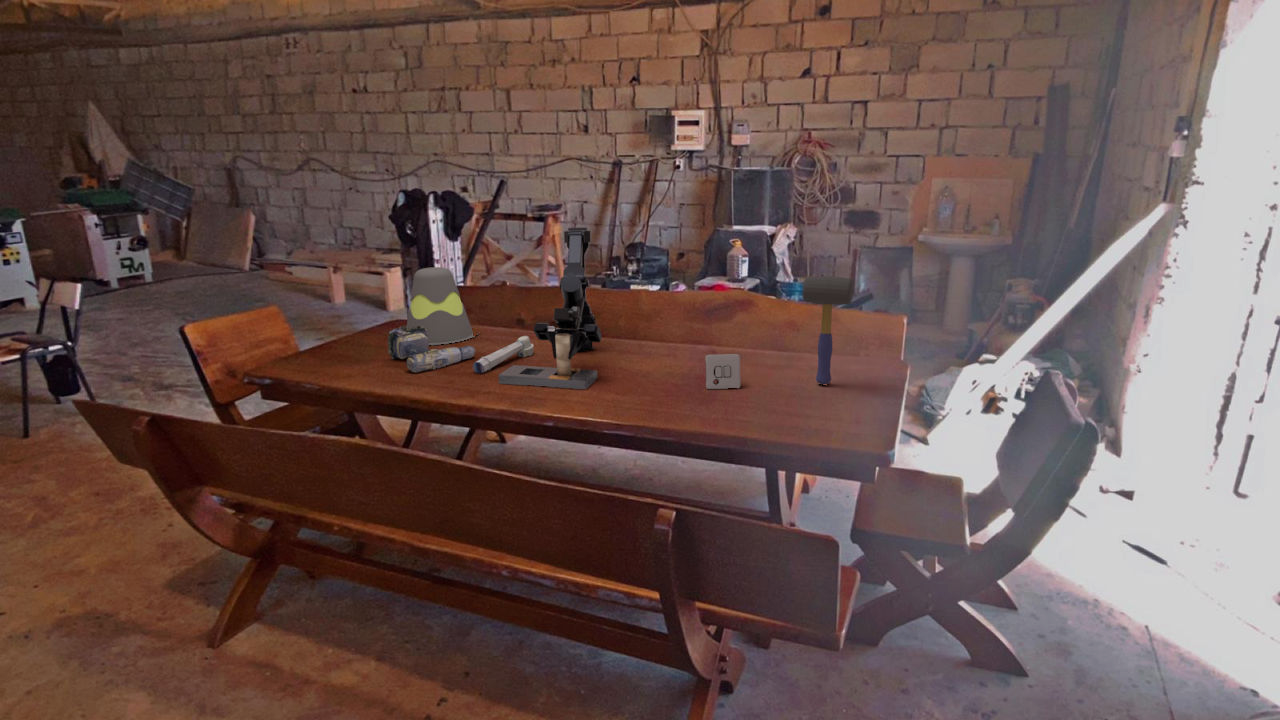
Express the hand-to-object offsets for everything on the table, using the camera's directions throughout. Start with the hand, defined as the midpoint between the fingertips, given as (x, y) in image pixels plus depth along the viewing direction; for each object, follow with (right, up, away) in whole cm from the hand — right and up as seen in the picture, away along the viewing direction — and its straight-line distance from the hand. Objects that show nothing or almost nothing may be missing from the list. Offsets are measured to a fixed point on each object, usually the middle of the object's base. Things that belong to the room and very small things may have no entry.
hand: (562, 358), depth 208 cm
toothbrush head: (-20, -2, +24) cm, 31 cm away
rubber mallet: (+72, -7, -4) cm, 72 cm away
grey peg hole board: (-4, -6, +5) cm, 9 cm away
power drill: (-45, -2, +26) cm, 52 cm away
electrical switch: (+44, -8, -3) cm, 45 cm away
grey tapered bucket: (-50, +8, +58) cm, 77 cm away
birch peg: (0, -6, +3) cm, 7 cm away
